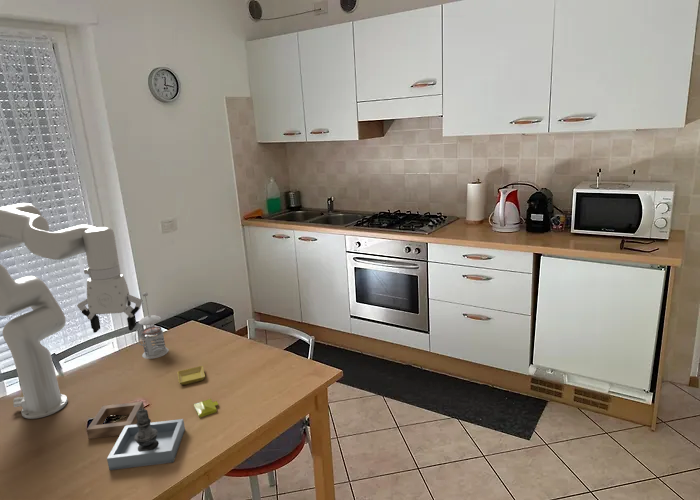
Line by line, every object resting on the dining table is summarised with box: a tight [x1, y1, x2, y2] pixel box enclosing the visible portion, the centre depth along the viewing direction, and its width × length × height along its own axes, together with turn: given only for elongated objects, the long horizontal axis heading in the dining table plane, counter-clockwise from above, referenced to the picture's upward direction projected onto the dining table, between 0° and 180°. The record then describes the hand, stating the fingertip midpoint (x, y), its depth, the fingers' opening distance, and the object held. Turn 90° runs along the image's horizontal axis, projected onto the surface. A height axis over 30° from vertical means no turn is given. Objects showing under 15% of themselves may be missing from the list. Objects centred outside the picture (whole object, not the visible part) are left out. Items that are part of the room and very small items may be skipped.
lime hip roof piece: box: [192, 398, 219, 418], centre depth 148 cm, size 10×9×3 cm
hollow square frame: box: [86, 400, 145, 440], centre depth 143 cm, size 12×12×3 cm
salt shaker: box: [134, 407, 159, 452], centre depth 130 cm, size 6×6×12 cm
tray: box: [106, 418, 186, 471], centre depth 131 cm, size 16×14×4 cm
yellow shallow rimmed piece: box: [176, 365, 206, 386], centre depth 167 cm, size 9×9×2 cm
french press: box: [134, 291, 170, 360], centre depth 184 cm, size 10×12×25 cm
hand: (114, 329), depth 137 cm, fingers open, 9 cm apart
